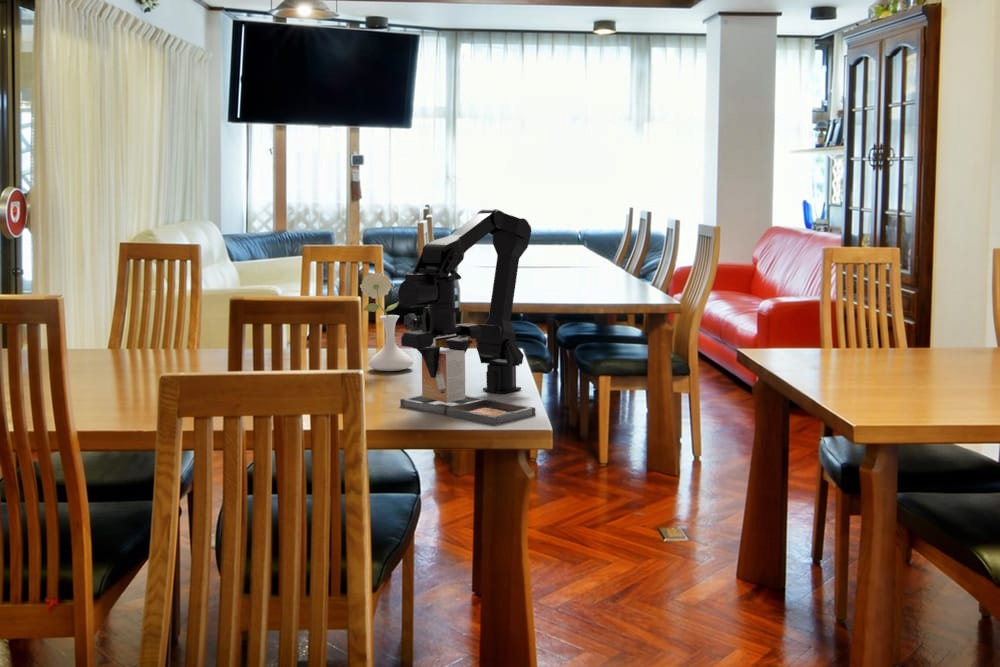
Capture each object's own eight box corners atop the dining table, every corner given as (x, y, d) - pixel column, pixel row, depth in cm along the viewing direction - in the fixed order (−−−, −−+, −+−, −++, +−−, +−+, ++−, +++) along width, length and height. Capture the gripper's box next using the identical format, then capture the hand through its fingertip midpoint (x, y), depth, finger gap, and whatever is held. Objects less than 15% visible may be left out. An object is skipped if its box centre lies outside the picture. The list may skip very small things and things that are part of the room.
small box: (421, 398, 232) (420, 349, 230) (441, 394, 236) (440, 346, 234) (446, 403, 226) (445, 353, 225) (466, 399, 230) (465, 350, 229)
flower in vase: (417, 366, 281) (414, 269, 277) (409, 374, 269) (406, 273, 266) (367, 366, 282) (364, 270, 278) (357, 374, 271) (354, 274, 267)
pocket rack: (441, 397, 240) (441, 390, 240) (535, 414, 221) (535, 407, 221) (400, 406, 232) (400, 399, 232) (494, 425, 213) (494, 417, 212)
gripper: (447, 296, 240) (449, 365, 242) (382, 304, 227) (385, 377, 229) (483, 299, 232) (484, 370, 235) (418, 308, 219) (420, 383, 221)
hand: (443, 375), depth 230 cm, fingers closed on small box, 6 cm apart
